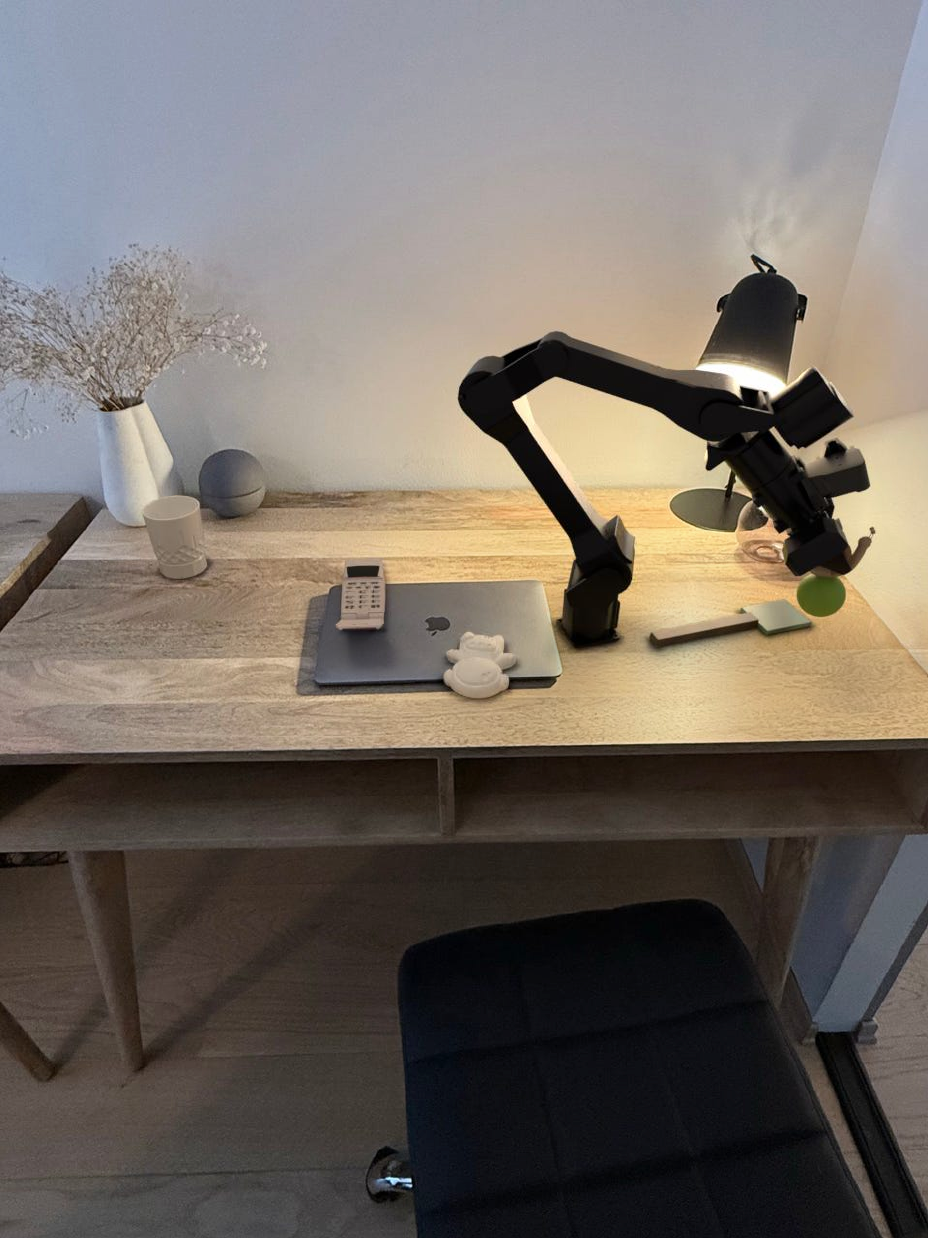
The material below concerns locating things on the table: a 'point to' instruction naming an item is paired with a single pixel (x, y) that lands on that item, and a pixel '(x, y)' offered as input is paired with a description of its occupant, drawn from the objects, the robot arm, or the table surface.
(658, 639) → the spatula
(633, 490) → the table surface
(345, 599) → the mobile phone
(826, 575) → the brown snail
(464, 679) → the white animal figurine
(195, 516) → the white cup
